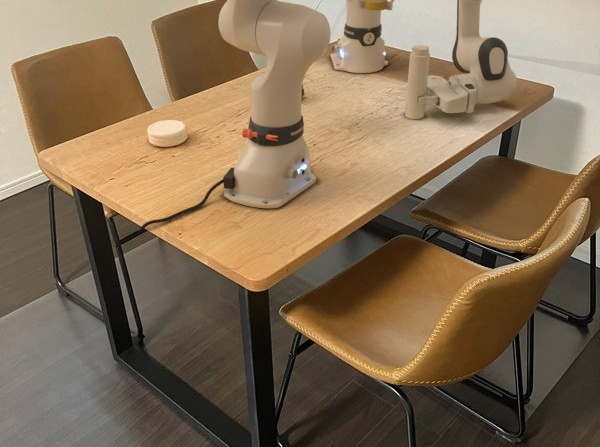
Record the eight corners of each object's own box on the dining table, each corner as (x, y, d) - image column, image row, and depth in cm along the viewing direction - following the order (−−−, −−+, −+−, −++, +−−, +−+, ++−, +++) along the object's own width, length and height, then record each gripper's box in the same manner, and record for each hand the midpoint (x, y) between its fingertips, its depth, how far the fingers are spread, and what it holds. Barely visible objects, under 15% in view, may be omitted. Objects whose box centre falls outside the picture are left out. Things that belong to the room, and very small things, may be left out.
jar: (413, 110, 176) (419, 43, 166) (428, 115, 173) (435, 47, 162) (401, 115, 173) (406, 47, 163) (416, 120, 170) (422, 51, 159)
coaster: (150, 132, 165) (149, 120, 163) (188, 130, 166) (187, 118, 164) (146, 148, 157) (144, 135, 155) (186, 146, 157) (185, 133, 155)
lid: (384, 11, 153) (385, 3, 152) (361, 9, 154) (362, 1, 153) (389, 6, 157) (389, -2, 156) (366, 4, 159) (367, -3, 158)
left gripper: (334, -51, 148) (332, 9, 156) (420, -48, 144) (414, 14, 151) (339, -54, 154) (337, 3, 161) (422, -51, 149) (417, 8, 156)
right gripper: (444, 68, 179) (399, 72, 176) (479, 92, 162) (430, 97, 159) (441, 89, 182) (398, 94, 180) (475, 114, 166) (428, 120, 163)
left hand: (375, 8), depth 156 cm, fingers closed on lid, 5 cm apart
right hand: (413, 96), depth 169 cm, fingers closed on jar, 5 cm apart
